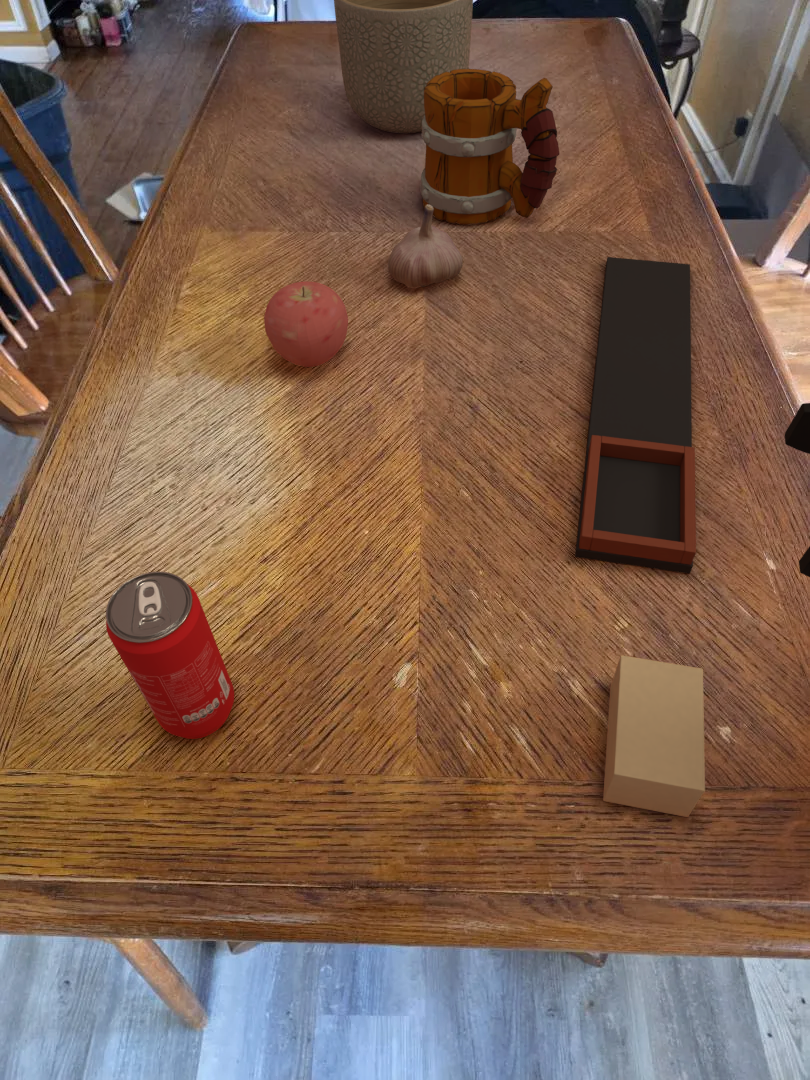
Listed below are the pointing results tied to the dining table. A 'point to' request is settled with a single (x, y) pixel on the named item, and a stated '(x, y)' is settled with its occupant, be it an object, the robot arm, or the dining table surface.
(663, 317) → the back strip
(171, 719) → the beverage can
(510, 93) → the mug
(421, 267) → the garlic bulb
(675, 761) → the foam pad
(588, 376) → the dining table surface
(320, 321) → the apple
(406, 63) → the planter
